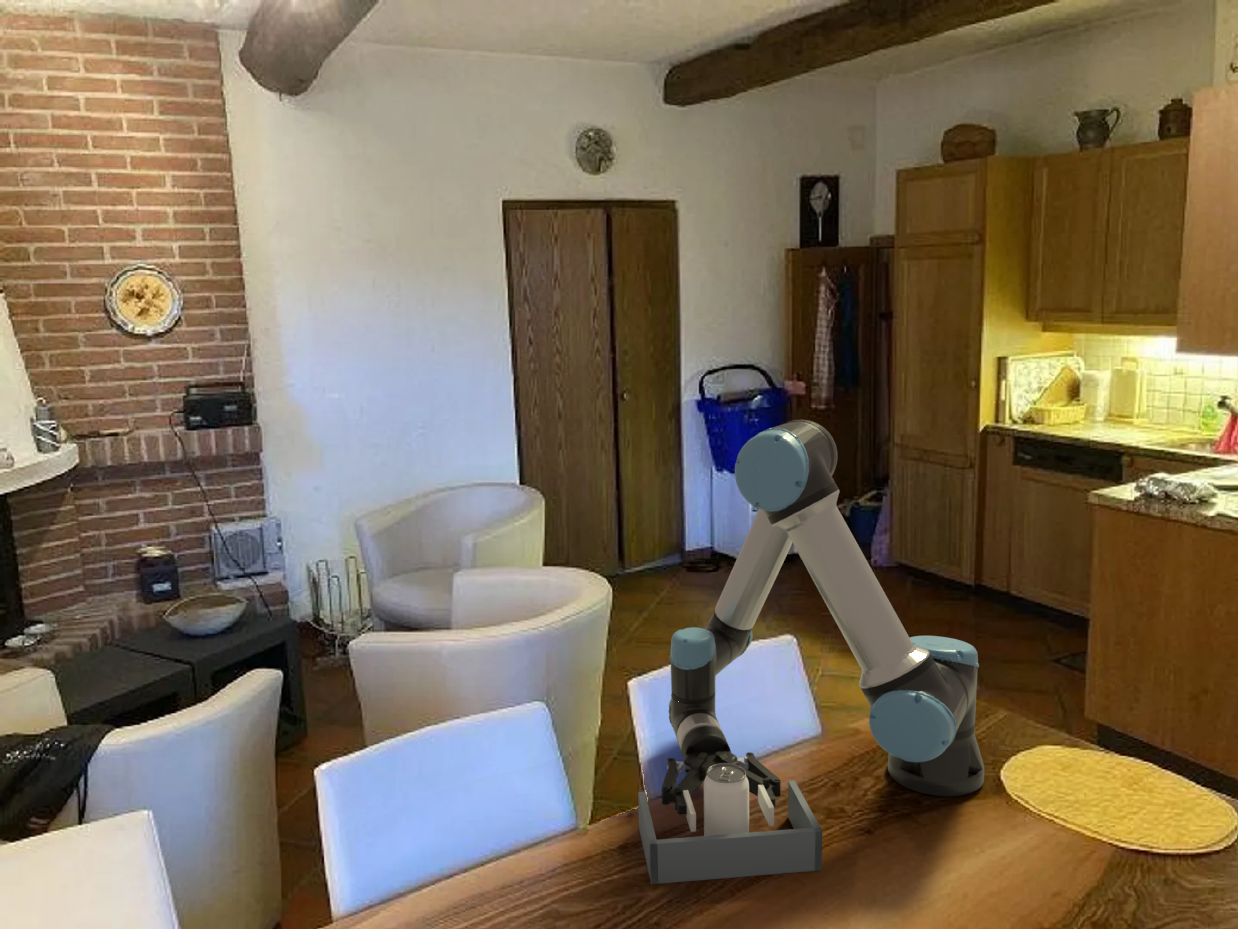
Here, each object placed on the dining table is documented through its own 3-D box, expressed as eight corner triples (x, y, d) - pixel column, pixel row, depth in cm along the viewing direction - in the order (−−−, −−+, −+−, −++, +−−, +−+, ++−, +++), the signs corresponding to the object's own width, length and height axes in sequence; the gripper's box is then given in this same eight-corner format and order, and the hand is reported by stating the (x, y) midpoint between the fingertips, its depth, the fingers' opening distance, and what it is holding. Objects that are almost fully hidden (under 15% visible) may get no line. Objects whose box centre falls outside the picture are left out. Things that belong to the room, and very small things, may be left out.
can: (753, 840, 145) (753, 765, 142) (744, 865, 139) (743, 786, 136) (710, 833, 147) (709, 759, 144) (699, 857, 141) (698, 780, 138)
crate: (639, 828, 148) (638, 792, 147) (794, 816, 151) (794, 780, 149) (651, 884, 135) (650, 844, 134) (821, 870, 137) (822, 831, 136)
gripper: (773, 763, 161) (812, 838, 139) (633, 773, 159) (651, 850, 137) (773, 720, 159) (813, 789, 138) (632, 729, 157) (650, 801, 135)
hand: (732, 819), depth 137 cm, fingers open, 10 cm apart
